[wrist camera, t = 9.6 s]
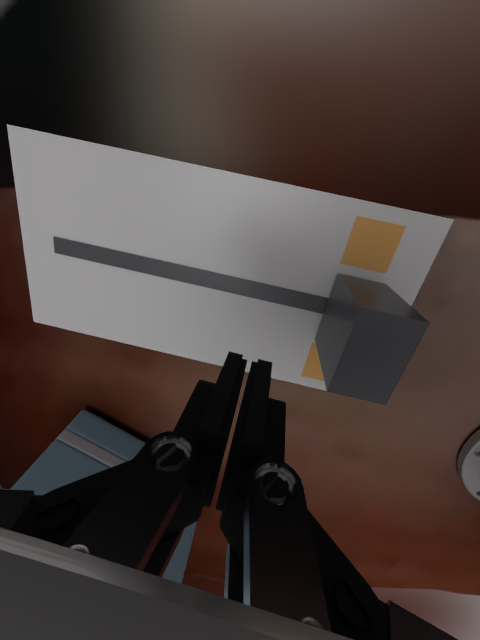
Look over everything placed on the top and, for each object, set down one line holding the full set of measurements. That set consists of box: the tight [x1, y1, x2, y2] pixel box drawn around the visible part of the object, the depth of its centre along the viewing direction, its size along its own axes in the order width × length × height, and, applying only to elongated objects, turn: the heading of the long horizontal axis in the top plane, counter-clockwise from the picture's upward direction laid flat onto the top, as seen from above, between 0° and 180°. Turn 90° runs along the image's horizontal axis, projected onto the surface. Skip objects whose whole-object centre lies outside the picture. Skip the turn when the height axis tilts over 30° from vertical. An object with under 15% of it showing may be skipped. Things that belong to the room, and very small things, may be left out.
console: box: [7, 125, 454, 391], centre depth 22 cm, size 28×14×3 cm, turn 79°
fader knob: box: [315, 273, 429, 405], centre depth 17 cm, size 3×5×6 cm, turn 169°
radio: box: [11, 410, 197, 584], centre depth 25 cm, size 16×9×20 cm, turn 57°
